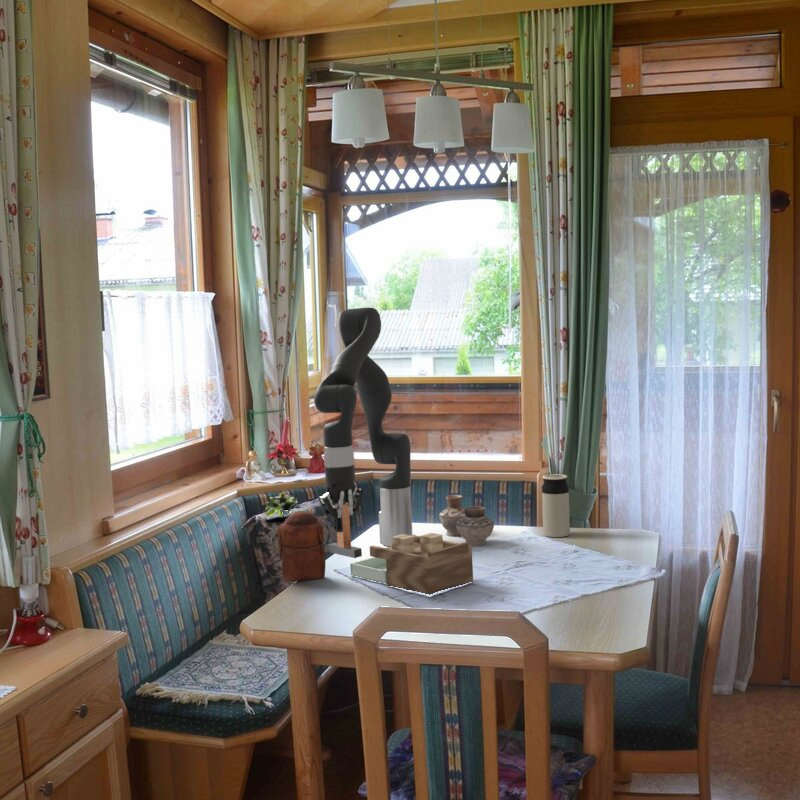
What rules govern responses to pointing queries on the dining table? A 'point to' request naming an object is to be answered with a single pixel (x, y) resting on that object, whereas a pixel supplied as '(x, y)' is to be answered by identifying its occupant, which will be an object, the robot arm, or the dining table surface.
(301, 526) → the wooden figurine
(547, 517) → the travel mug
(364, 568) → the sage green tray
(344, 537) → the scraper
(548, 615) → the dining table surface
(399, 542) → the birch block
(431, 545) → the birch block
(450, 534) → the pottery
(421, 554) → the wooden box
